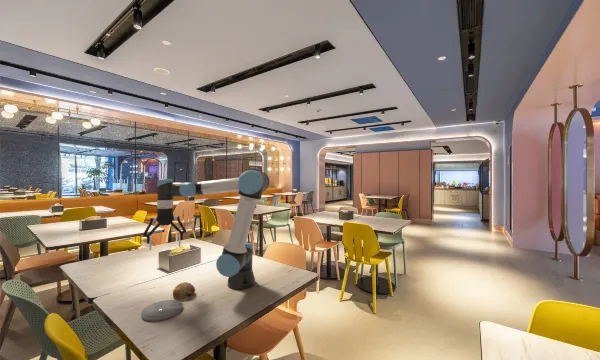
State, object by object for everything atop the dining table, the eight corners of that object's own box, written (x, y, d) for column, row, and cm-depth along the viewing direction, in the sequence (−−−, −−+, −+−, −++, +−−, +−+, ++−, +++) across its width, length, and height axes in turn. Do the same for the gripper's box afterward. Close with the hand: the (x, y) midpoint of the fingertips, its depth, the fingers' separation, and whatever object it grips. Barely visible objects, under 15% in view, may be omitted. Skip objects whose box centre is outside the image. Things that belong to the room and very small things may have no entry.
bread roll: (177, 308, 121) (182, 294, 119) (166, 294, 126) (171, 281, 124) (195, 300, 129) (200, 287, 128) (185, 287, 134) (189, 275, 133)
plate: (190, 304, 117) (190, 301, 117) (164, 323, 101) (164, 320, 101) (161, 300, 121) (161, 297, 121) (131, 318, 105) (131, 315, 105)
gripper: (189, 206, 144) (189, 243, 143) (138, 208, 131) (137, 249, 131) (191, 207, 137) (191, 246, 137) (136, 209, 125) (136, 252, 125)
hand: (165, 247), depth 134 cm, fingers open, 13 cm apart
